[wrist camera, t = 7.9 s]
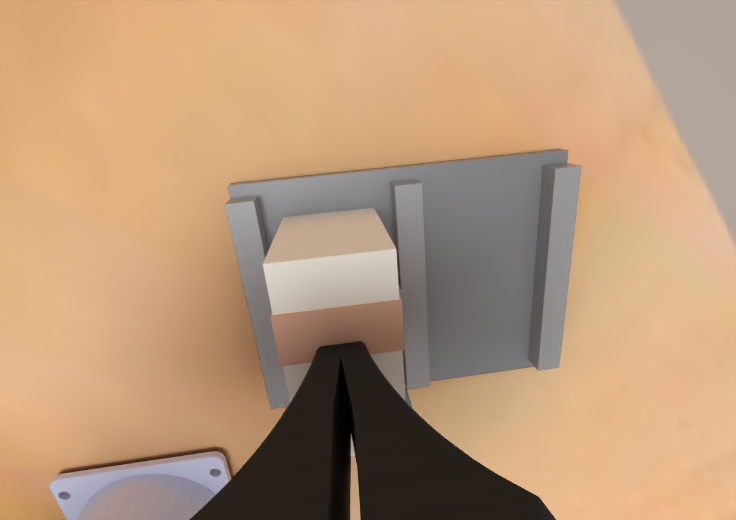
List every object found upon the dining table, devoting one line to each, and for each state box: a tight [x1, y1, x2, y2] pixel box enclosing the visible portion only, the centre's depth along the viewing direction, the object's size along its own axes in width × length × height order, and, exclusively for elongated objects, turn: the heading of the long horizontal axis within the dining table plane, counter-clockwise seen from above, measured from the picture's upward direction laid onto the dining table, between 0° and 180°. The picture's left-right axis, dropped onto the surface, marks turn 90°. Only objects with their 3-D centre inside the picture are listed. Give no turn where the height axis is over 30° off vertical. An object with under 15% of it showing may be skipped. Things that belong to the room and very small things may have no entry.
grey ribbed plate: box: [225, 149, 581, 409], centre depth 15 cm, size 10×13×3 cm
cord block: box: [263, 208, 405, 457], centre depth 13 cm, size 7×4×5 cm, turn 5°
